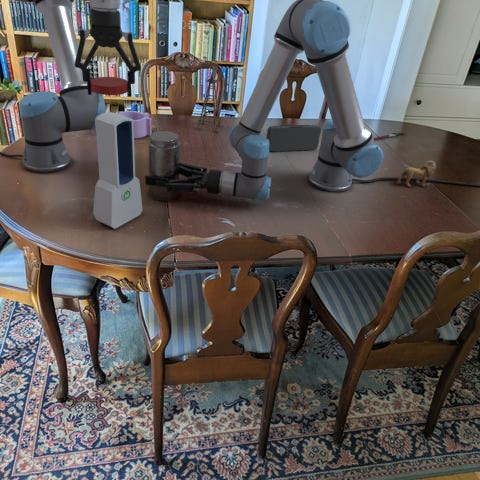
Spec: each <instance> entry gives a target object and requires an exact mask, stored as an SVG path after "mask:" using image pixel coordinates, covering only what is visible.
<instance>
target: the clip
mask: <svg viewBox="0 0 480 480" xmlns="http://www.w3.org/2000/svg"><path fill="white" fill-rule="evenodd" d="M115 113H116V114H119V115H122V116H125V117H128V118H131V119H133V125H134V139H140V138H144V137H146V136H149V137H150V134H152V133H153V132H152V131H153V129H152V127H153V126H152V118H151V117H150V113H149V112H142V111H138V110H137V111H135V110H124V111H119V112H115Z"/></svg>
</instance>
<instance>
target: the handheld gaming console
mask: <svg viewBox="0 0 480 480" xmlns="http://www.w3.org/2000/svg"><path fill="white" fill-rule="evenodd" d="M321 133H322V127H321V126H319V125H318V124H292V125H291V124H290V125H289V124H286V125H285V124H284V125H283V124H281V125H270V126H268V127H267V130H266V137H265V138H267V139H268V140H269V152H289V151H290V152H292V151H294V152H295V151H312V150H317V148H318V147H319V145H320V137H321Z"/></svg>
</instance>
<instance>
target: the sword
mask: <svg viewBox="0 0 480 480" xmlns="http://www.w3.org/2000/svg"><path fill="white" fill-rule="evenodd" d="M406 134H408V132H407V133H403V134H401V133H400V132H392V133H389V134H387V135H381V136H378V137H373V139H374V141H378V140H381V139H386V138H391V137H397V136H399V135H406Z"/></svg>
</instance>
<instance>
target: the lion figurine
mask: <svg viewBox="0 0 480 480" xmlns="http://www.w3.org/2000/svg"><path fill="white" fill-rule="evenodd" d="M435 170H436V162H435V161H434V160H431V159H430V160H427V161H425V163H424V164H423V165H422V167H420V168H419V167H418V168H415V167H411V166H408V167H406V168H405V169H403V171H402V172H401V173H400V176H398V177H399V178H398V180H396V185H399V184H401V183H402V182H401V181H402V180H401V178H407V180H405V184H406V186H407V187H409V188H410V187H411V184H410V183H409V182H410V181H411V180H410V179H411V178H418V179H417V181H416V183H417V184H421V187H425V186H426V185H425V183H426V182H427V181H426V179H429V178H430V177H431V176H432V175H433V174H434V172H435ZM420 178H422V179H423V180H422V181H420Z"/></svg>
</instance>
